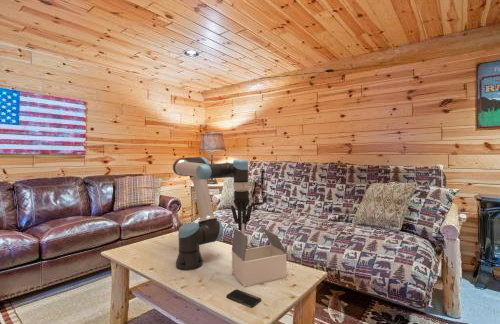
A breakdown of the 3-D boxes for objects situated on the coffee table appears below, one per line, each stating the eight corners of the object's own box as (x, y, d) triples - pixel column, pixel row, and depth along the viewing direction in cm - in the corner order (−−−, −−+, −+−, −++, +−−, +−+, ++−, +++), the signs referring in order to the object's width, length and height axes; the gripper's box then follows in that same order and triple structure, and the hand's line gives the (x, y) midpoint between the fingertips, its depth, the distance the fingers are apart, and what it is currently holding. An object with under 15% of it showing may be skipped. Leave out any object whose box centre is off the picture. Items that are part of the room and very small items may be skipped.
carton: (232, 274, 153) (232, 251, 152) (271, 265, 163) (271, 244, 162) (244, 287, 139) (244, 262, 138) (286, 277, 149) (286, 254, 148)
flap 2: (261, 227, 159) (262, 227, 159) (271, 244, 162) (271, 243, 162) (276, 235, 145) (276, 234, 145) (285, 253, 148) (286, 252, 148)
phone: (236, 288, 136) (262, 298, 127) (236, 291, 136) (262, 301, 127) (225, 295, 129) (251, 306, 120) (225, 298, 129) (251, 309, 120)
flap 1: (232, 250, 152) (231, 250, 152) (235, 228, 152) (234, 228, 152) (244, 260, 138) (243, 261, 138) (247, 236, 138) (246, 236, 138)
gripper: (232, 192, 138) (233, 240, 139) (256, 190, 144) (257, 236, 145) (226, 190, 145) (227, 236, 146) (249, 188, 150) (250, 232, 152)
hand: (242, 236), depth 146 cm, fingers closed
